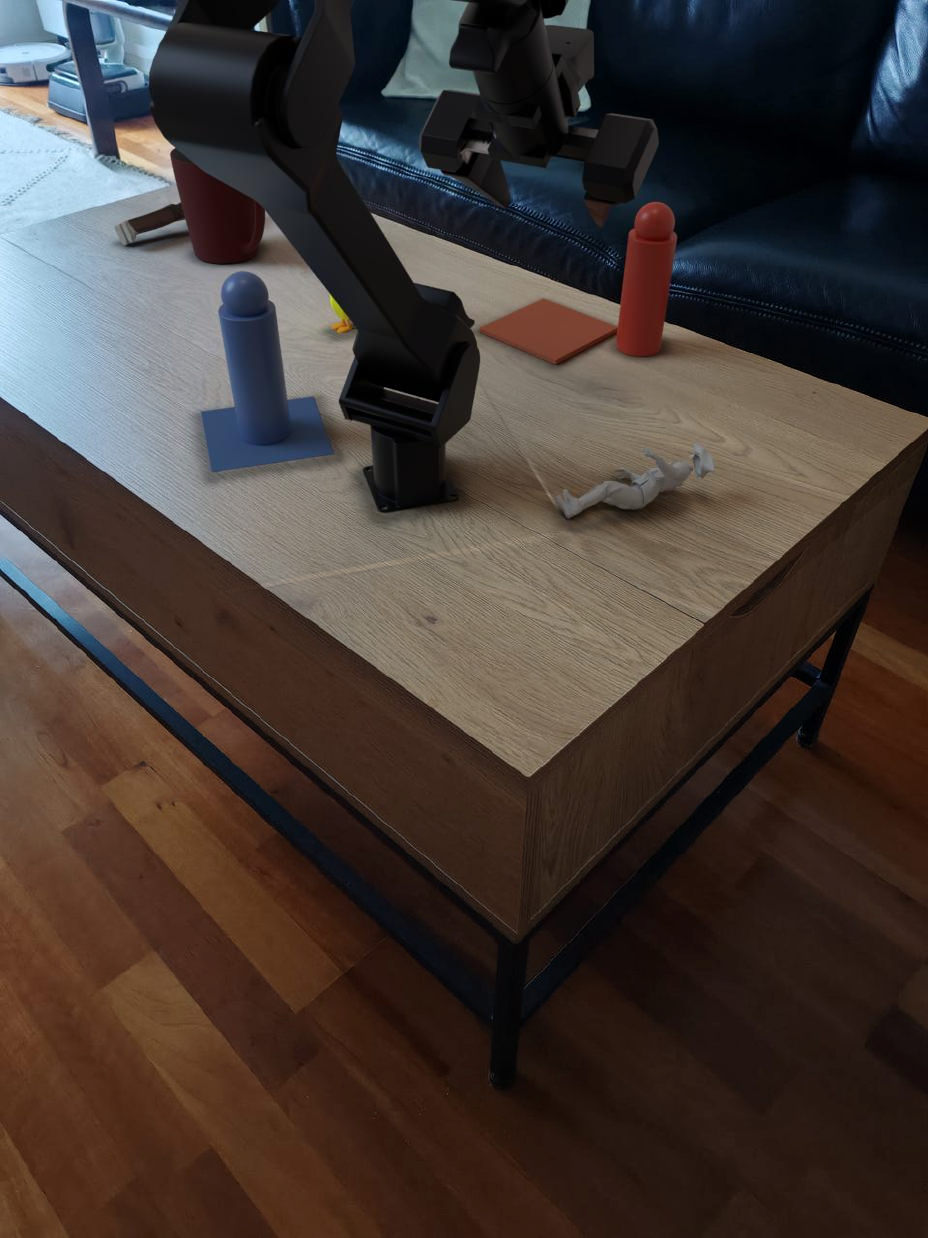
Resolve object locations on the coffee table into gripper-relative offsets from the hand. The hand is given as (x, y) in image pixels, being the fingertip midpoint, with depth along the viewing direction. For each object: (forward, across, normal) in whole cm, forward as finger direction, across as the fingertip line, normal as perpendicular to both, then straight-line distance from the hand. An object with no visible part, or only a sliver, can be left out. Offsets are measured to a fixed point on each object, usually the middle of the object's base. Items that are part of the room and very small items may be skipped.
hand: (554, 212), depth 85 cm
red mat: (+14, +2, +3) cm, 15 cm away
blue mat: (-3, +15, +28) cm, 32 cm away
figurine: (+16, +52, +2) cm, 54 cm away
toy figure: (+9, +20, +12) cm, 25 cm away
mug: (+15, +42, +3) cm, 45 cm away
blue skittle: (-3, +15, +28) cm, 32 cm away
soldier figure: (0, -16, +24) cm, 29 cm away
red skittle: (+15, -7, +2) cm, 17 cm away
